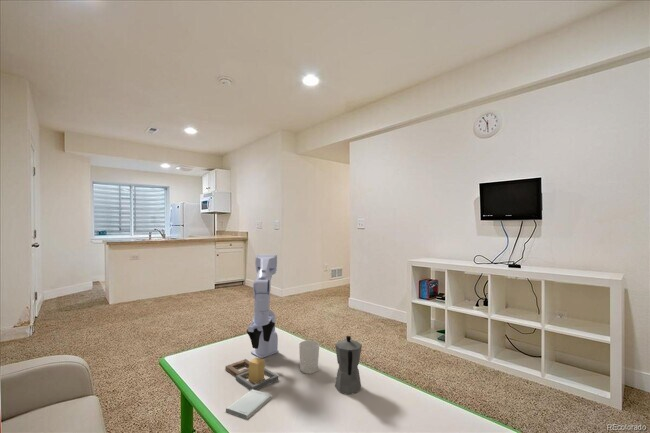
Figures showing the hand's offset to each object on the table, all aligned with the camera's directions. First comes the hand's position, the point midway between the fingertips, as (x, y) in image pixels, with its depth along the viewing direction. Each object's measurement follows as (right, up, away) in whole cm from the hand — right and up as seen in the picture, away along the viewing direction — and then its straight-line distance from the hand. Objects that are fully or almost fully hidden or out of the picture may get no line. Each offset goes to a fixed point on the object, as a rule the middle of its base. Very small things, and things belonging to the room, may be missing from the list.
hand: (261, 344), depth 123 cm
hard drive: (+1, -10, -24) cm, 26 cm away
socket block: (-7, -9, -2) cm, 12 cm away
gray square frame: (0, -9, -9) cm, 13 cm away
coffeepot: (+33, -10, -14) cm, 38 cm away
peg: (0, -9, -9) cm, 13 cm away
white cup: (+19, -10, 0) cm, 21 cm away
